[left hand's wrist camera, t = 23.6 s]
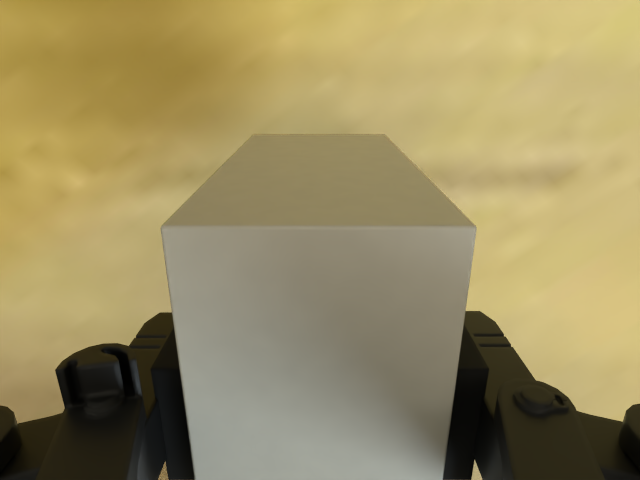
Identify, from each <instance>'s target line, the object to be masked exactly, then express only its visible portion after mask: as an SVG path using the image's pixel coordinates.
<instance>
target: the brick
mask: <svg viewBox="0 0 640 480" xmlns="http://www.w3.org/2000/svg"><path fill="white" fill-rule="evenodd" d="M161 234H162V242H163V249H164V257H165V264H166V271H167V279H168V286H169V293H170V301H171V308H172V316H173V323H174V330H175V338H176V345H177V353H178V360H179V367H180V375H181V382H182V389H183V397H184V404H185V412H186V419H187V426H188V434H189V441H190V449H191V456H192V463H193V471H194V478H195V480H443V474H444V467H445V459H446V452H447V444H448V437H449V429H450V422H451V414H452V407H453V400H454V392H455V385H456V377H457V370H458V362H459V355H460V348H461V340H462V333H463V325H464V318H465V310H466V303H467V295H468V288H469V281H470V273H471V266H472V258H473V251H474V243H475V236H476V226H475V225H474V224H473V223H472V222H471V221H470V220H469V219H468V218H467V217H466V216H465V215H464V214H463V213H462V212H461V211H460V210H459V209H458V208H457V207H456V206H455V205H454V204H453V202H452V201H451V200H450V199H449V198H448V197H447V196H446V195H445V194H444V193H443V192H442V191H441V190H440V189H439V188H438V187H437V186H436V185H435V184H434V183H433V182H432V181H431V180H430V179H429V178H428V177H427V176H426V175H425V174H424V173H423V172H422V171H421V170H420V169H419V168H418V167H417V166H416V165H415V164H414V163H413V162H412V161H411V160H410V159H409V158H408V157H407V156H406V155H405V154H404V153H403V152H402V151H401V150H400V149H399V148H398V147H397V146H396V145H395V144H394V143H393V142H392V141H391V140H390V139H389V138H388V137H387V136H386V135H385V134H253V135H252V136H251V137H250V138H249V139H248V140H247V141H246V142H245V143H244V144H243V145H242V146H241V147H240V148H239V149H238V150H237V151H236V152H235V153H234V154H233V155H232V156H231V157H230V158H229V159H228V160H227V161H226V162H225V163H224V164H223V165H222V166H221V167H220V168H219V169H218V170H217V171H216V172H215V173H214V174H213V175H212V176H211V177H210V178H209V179H208V180H207V181H206V182H205V183H204V184H203V185H202V186H201V187H200V188H199V189H198V190H197V191H196V192H195V193H194V194H193V195H192V196H191V197H190V198H189V199H188V200H187V201H186V202H185V203H184V204H183V205H182V206H181V207H180V208H179V209H178V210H177V211H176V212H175V213H174V214H173V215H172V216H171V217H170V218H169V219H168V220H167V221H166V222H165V223H164V224H163V225H162V226H161Z"/></svg>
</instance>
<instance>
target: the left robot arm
mask: <svg viewBox="0 0 640 480" xmlns="http://www.w3.org/2000/svg"><path fill="white" fill-rule="evenodd" d="M55 371H56V375H57V379H58V383H59V387H60V390H61V394H62V398H63V402H64V406H65V409H64V411H63V413H61V414H57V415H54V416H50V417H46V418H41V419H37V420H32V421H28V422H23V423H19V424H17V421H16V418H15V415H14V412H13V411H11V410H10V409H9V408H8V407H5V406H0V480H158V478H159V475H160V472H161V470H162V467H163V465H164V462H165V461H166V467H167V473H168V479H169V480H195V478H194V471H193V463H192V456H191V449H190V441H189V434H188V426H187V419H186V412H185V404H184V397H183V389H182V382H181V375H180V367H179V360H178V353H177V345H176V338H175V330H174V323H173V316H172V313H159V314H157V315H156V316H154V317H153V318H152V319H150V320H149V321H147V322H146V323H145V324H144V325H143V326H142V328H141V329H140V331H139V332H138V334H137V335H136V338H134V340H133V341H132V342H131V344H130V345H129V346H126V345H122V344H118V343H112V344H100V345H96V346H91V347H88V348H85V349H83V350H80V351H78V352H76V353H74V354H72V355H71V356H69V357H68V358H66V359H65V360H63V361H62V362H61V364H60V365H59V366H58V367H57V369H56V370H55ZM474 459H475V461H476V463H477V466H478V469H479V471H480V474H481V476H482V480H640V404H635V405H632V406H631V407H630V408H629V409H628V410H626V413H625V417H624V420H623V422H621V421H616V420H612V419H607V418H603V417H598V416H594V415H589V414H586V413H582V412H579V411H576V408H575V406H574V405H573V404H572V402H571V401H570V399H569V398H568V397H567V396H566V395H564V394H563V393H562V392H560V391H559V390H558V389H556V388H554V387H552V386H550V385H548V384H546V383H544V382H540V381H536V380H535V379H534V377H533V376H532V374H531V373H530V372H529V370H528V369H527V367H526V366H525V364H524V363H523V361H522V360H521V358H520V357H519V356H518V354H517V353H516V351H515V350H514V348H513V347H511V344H510V343H509V341H508V340H507V338H506V337H504V334H503V332H502V331H501V330H500V328H499V327H498V325H497V324H496V322H495V321H493V320H492V319H490V318H489V317H488V316H486V315H485V314H483V313H482V312H480V311H465V318H464V325H463V333H462V340H461V348H460V355H459V362H458V370H457V377H456V385H455V392H454V400H453V407H452V414H451V422H450V429H449V437H448V444H447V452H446V459H445V467H444V474H443V480H471V477H472V471H473V465H474Z"/></svg>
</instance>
